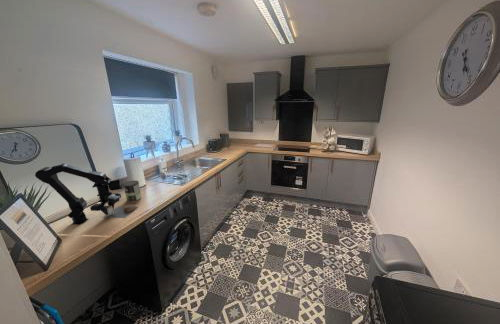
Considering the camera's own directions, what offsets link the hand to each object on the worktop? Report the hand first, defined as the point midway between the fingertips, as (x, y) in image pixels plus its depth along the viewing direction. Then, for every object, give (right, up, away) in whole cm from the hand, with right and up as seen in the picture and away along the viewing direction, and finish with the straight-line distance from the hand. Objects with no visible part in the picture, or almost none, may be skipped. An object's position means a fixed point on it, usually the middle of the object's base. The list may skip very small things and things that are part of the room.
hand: (109, 212), depth 127 cm
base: (+10, +1, +6) cm, 12 cm away
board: (+5, -1, +4) cm, 7 cm away
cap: (0, -1, 0) cm, 1 cm away
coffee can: (+3, +4, +23) cm, 23 cm away
